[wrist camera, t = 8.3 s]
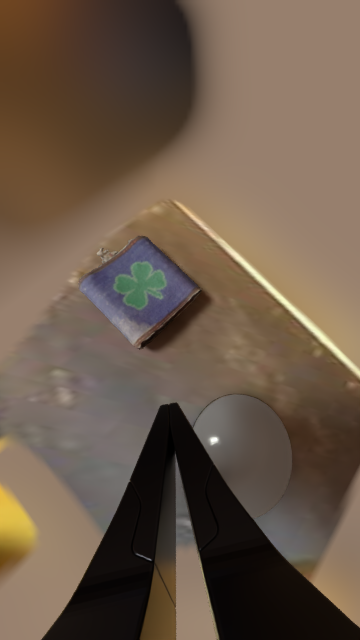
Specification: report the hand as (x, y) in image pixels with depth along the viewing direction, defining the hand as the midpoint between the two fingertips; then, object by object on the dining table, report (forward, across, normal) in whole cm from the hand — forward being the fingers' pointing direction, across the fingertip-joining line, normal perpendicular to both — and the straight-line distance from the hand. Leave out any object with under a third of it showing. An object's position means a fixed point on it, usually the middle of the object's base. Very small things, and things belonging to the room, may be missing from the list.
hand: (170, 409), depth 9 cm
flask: (+11, -1, 0) cm, 11 cm away
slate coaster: (+4, -5, +12) cm, 13 cm away
